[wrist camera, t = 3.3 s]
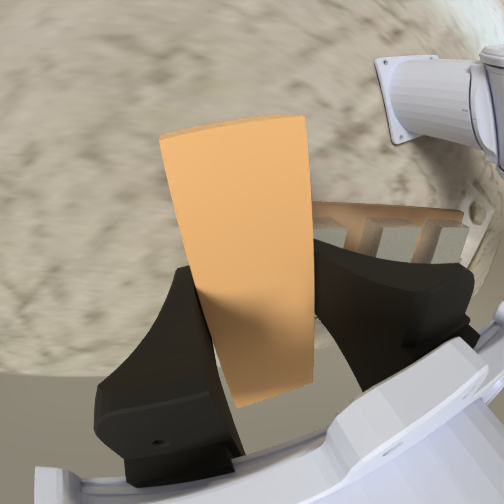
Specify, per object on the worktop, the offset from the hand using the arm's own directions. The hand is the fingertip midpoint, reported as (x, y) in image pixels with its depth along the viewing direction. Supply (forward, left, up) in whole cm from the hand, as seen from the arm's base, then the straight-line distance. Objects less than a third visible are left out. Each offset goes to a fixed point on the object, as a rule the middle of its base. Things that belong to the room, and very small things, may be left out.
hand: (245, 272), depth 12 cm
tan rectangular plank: (0, 0, -3) cm, 3 cm away
